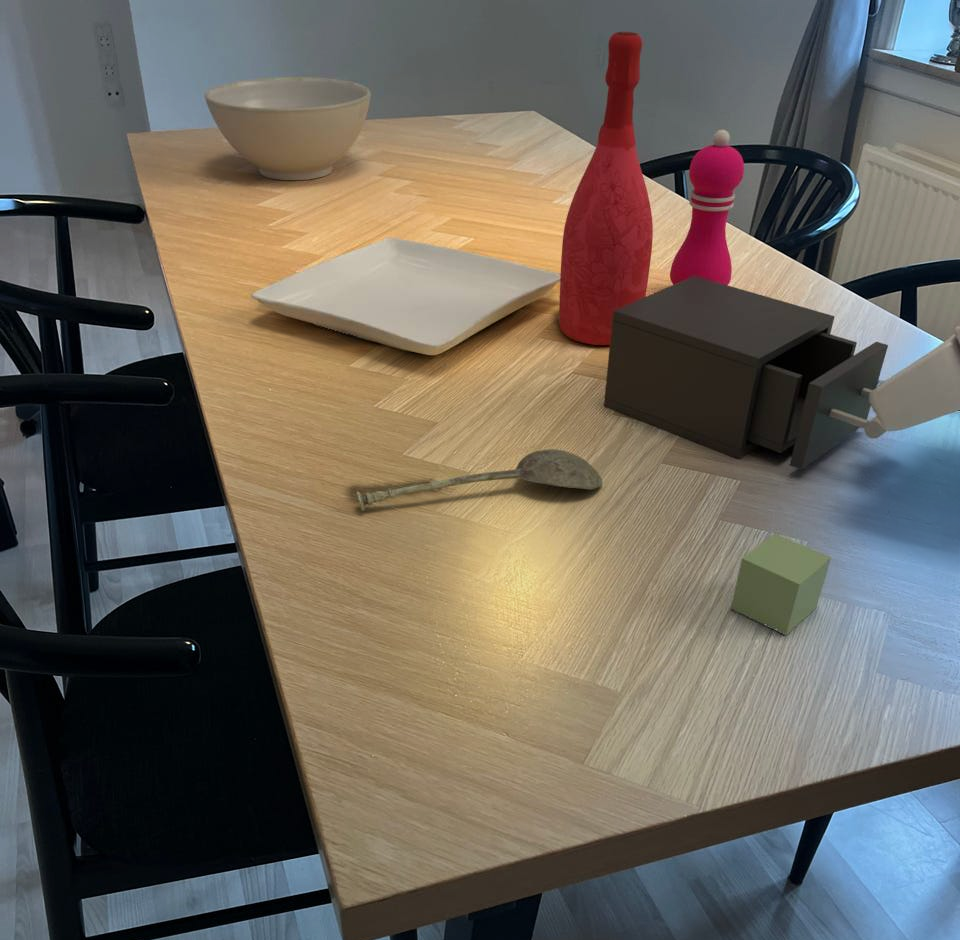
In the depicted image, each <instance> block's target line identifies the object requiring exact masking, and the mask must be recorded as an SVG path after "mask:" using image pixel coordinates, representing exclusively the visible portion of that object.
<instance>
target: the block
mask: <svg viewBox="0 0 960 940" xmlns="http://www.w3.org/2000/svg"><path fill="white" fill-rule="evenodd" d="M831 559H832V557H831V556H829V555H826V554H824V553H822V552H819V551H817V550H815V549H813V548H810V547H809V546H805V545H803V544H801V543H799V542H796V541H794V540H791V539H789V538H787V537H785V536H782V535H780V534H777V533H773V534H772V535H770V536H769V537H767V538H766V539H765V540H764V541H762V542H761V543H760V544H759V545H757V546H756V547H754V548H753V549H752V550H750V551H749V552H748V553H747V554H745V555H744V556H743V557H742V558H741V560H740V566H739V570H738V575H737V578H736V579H737V580H736V583H735V588H734V593H733V598H732V602H731V608H730V610H732V609H734V610H735V611H734V610H733V611H734V612H736V611H737V612H736V613H738V612H739V613H738V614H740V613H741V614H740V615H742V614H744V615H745V617H746V616H748V617H751V618H752V619H754V620H753V621H755V620H756V621H755V622H757V621H759V622H761V623H763V624H766V625H767V626H770V627H772V628H774V629H777V630H778V631H780V632H782V633H784V634H787V635H788V634H789V633H790V632H791V631H793V630H794V629H795V628H796V627H797V626H798V625H800V624H801V623H802V622H803V621H804V620H805V619H806V618H807V617H808V616H810V614H812V613H813V612H814V611H815V610H816V609H817V608H818V605H819V601H820V597H821V594H822V591H823V587H824V584H825V581H826V577H827V573H828V570H829V566H830V564H831ZM744 615H743V616H744ZM748 617H747V618H748ZM752 619H751V620H752ZM802 620H803V621H802ZM759 622H758V623H759ZM761 623H760V624H761ZM763 624H762V625H763ZM767 626H766V627H767ZM794 627H795V628H794ZM793 628H794V629H793ZM792 629H793V630H792Z"/></svg>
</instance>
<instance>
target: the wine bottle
mask: <svg viewBox="0 0 960 940" xmlns="http://www.w3.org/2000/svg"><path fill="white" fill-rule="evenodd" d="M607 47H608V58H607V60H608V61H607V69H606V72H605V77H604V79H605V84H606V86H607V87H608V88H607V96H606V97H607V98H606V106H605V111H604V117H603V123H602V125H601V126H600V129H599V132H598V136H597V144H596V146H595V149H594V152H593V154H592V156H591V158H590V160H589V162H588V165H587V166H586V169H585V171H584V173H583V174H582V177H581V179H580V181H579V183H578V185H577V188H576V190H575V192H574V194H573V197H572V200H571V203H570V206H569V208H568V211H567V215H566V219H565V223H564V228H563V235H562V246H561V247H562V248H561V259H560V274H561V275H560V281H559V301H558V302H559V303H558V319H559V320H558V321H559V327H560V330H561V331H562V333H563V334H564V335H565V336H567V338H569V339H571V340H574V341H576V342H579V343H583V344H586V345H593V346H610V339H611V328H612V320H613V311H614V310H616V309H619V308H621V307H623V306H626V305H628V304H630V303H632V302H635V301H637V300H639V299H642V298H644V297H646V296H647V289H648V282H649V277H650V276H649V275H650V267H651V260H652V253H653V252H652V249H653V238H654V224H653V222H654V221H653V213H652V208H651V203H650V197H649V193H648V189H647V186H646V182H645V179H644V178H645V177H644V174H643V171H642V168H641V165H640V160H639V157H638V153H637V147H636V142H637V141H636V135H635V128H634V127H635V126H634V118H633V117H634V105H635V104H634V102H635V100H634V92H635V88H636V87H637V86H638V85H639V82H640V79H641V72H640V71H641V70H640V69H641V68H640V67H641V66H640V65H641V52H642V48H643V39H642V37H641V36H640V34H638V33H636V32H633V31H617V32H615V33H613V34H612V35H611V36H610V37H609V40H608V46H607Z"/></svg>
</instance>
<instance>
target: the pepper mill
mask: <svg viewBox="0 0 960 940" xmlns="http://www.w3.org/2000/svg"><path fill="white" fill-rule="evenodd" d="M730 138H731V136H730V134H729V132H728V131H727V130H726V129H719V130H717V131H716V132H714V135H713V138H712V142H713V144H710V145H707V146H704V147H702V148H701V149H699V150H698V151H697V152H696V153H695V155H694V156H693V157H692V160H691V162H690V165H689V170H688V176H689V180H690V183H691V185H692V186H693V189H692V190H691V191H690V193H689V194H690V200H689V202H688V203H689V205H690V207H692V208H691V221H690V226H689V229H688V232H687V235H686V236H685V239H684V240H683V242H682V244H681V246H680V247H679V249H678V250H677V252H676V254H675V256H674V258H673V261H672V263H671V267H670V270H669V279H670V281H671V284H672V285H674V284H676V283H679V282H681V281H683V280H685V279H688V278H690V277H692V276H697V277H700V278H704V279H707V280H711V281H714V282H718V283H721V284H724V285H728V286H729V284H730V283H731V280H732V271H733V268H732V259H731V255H730V252H729V246H728V243H727V237H726V234H727V233H726V227H727V219H728V215H729V211H730V210H731V209H733V208H734V206H735V204H734V200H735V198H736V194H735V193H734V190H735V189H736V188H737V187H738V186H739V185H740V184H741V182H742V181H743V178H744V172H745V163H744V159H743V156H742V155H741V153H740V152H739V151H738V150H737V149H736V148H734V147H732V146H730V145H728V144H729V143H730Z"/></svg>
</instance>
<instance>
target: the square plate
mask: <svg viewBox="0 0 960 940" xmlns="http://www.w3.org/2000/svg"><path fill="white" fill-rule="evenodd" d="M560 275H561V273H559V272H554V271H550V270H545V269H541V268H537V267H533V266H529V265H525V264H521V263H517V262H514V261H509V260H507V259H506V260H505V259H501V258H496V257H492V256H487V255H485V254H479V253H476V252H470V251H465V250H460V249H456V248H451V247H448V246H447V247H446V246H441V245H436V244H431V243H426V242H420V241H416V240H415V241H414V240H410V239H405V238H404V239H403V238H397V237H387V238H384V239H381V240H379V241H376V242H373V243H370V244H368V245H365V246H362V247H359V248H357V249H354V250H351V251H348V252H346V253H343V254H341V255H337V256H335V257H332V258H330V259H326V260H325V261H322V262H319V263H317V264H314V265H312V266H309V267H306V268H305V269H302V270H300V271H299V272H296V273H294V274H291V275H289V276H286V277H285V278H282V279H280V280H277V281H275V282H273V283H271V284H269V285H267V286H264V287H262V288H259V289H257V290H255V291H253V292H252V293H251V294H250V297H251V298H252V299H254V300H256V301H257V302H258V303H260V304H261V305H263V306H264V307H265V308H267V309H269V310H270V311H273V312H274V313H277V314H279V315H283V316H286V317H287V318H288V317H289V318H291V319H296V320H298V321H302V322H306V323H309V324H311V323H313V324H315V325H318V326H322V327H325V328H329V329H332V330H336V331H339V332H338V333H340V332H343V333H342V334H344V333H346V334H345V335H348V334H350V335H349V336H351V335H353V336H352V337H355V336H356V337H355V338H359V339H363V340H366V341H370V342H374V343H378V344H381V345H384V346H388V347H390V348H395V349H399V350H401V351H402V350H403V351H407V352H412V353H413V352H414V353H418V354H421V355H427V356H437V355H440V354H442V353H444V352H446V351H448V350H450V349H452V348H453V347H455V346H456V345H458V344H460V343H462V342H463V341H465V340H467V339H469V338H470V337H472V336H474V335H476V334H477V333H479V332H481V331H482V330H485V329H486V328H487V327H489V326H491V325H493V324H495V323H497V322H499V321H500V320H502V319H504V318H506V317H507V316H509V315H511V314H512V313H514V312H516V311H517V310H520V309H522V308H523V307H526V306H527V305H530V304H531V303H533V302H535V301H537V300H539V299H540V298H542V297H543V296H545V295H546V294H547V293H549V292H551V291H552V289H553V288H555V286H556V285H557V284H558V283H559V282H560ZM313 324H312V325H313ZM315 325H314V326H315ZM318 326H317V327H318ZM322 327H321V328H322ZM325 328H324V329H325ZM329 329H328V330H329ZM332 330H331V331H332ZM336 331H335V332H336Z"/></svg>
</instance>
